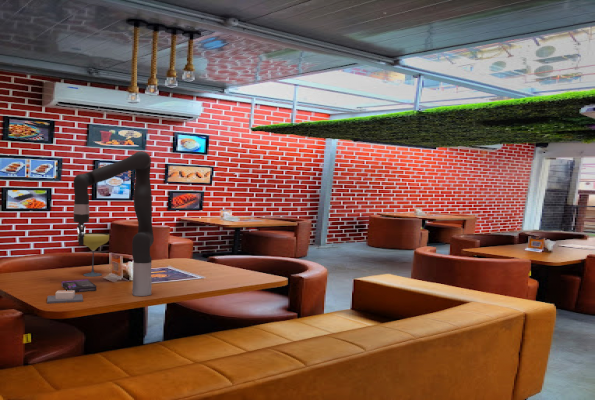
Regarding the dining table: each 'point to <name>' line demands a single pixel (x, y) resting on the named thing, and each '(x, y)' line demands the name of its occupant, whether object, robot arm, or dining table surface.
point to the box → (78, 285)
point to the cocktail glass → (94, 246)
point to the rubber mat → (76, 299)
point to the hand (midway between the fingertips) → (80, 244)
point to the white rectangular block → (65, 294)
